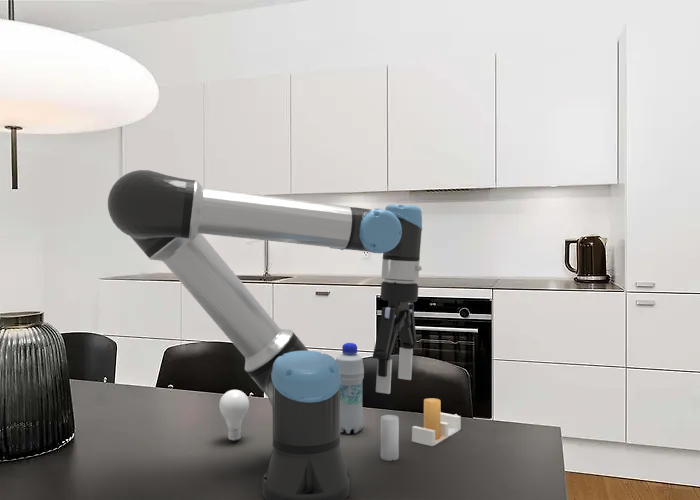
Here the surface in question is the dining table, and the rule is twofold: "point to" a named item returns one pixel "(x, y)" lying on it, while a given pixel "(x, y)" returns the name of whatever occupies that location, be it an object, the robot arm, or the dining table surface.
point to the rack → (427, 436)
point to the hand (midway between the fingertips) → (394, 385)
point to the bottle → (350, 388)
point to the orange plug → (432, 415)
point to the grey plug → (389, 437)
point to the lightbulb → (234, 411)
